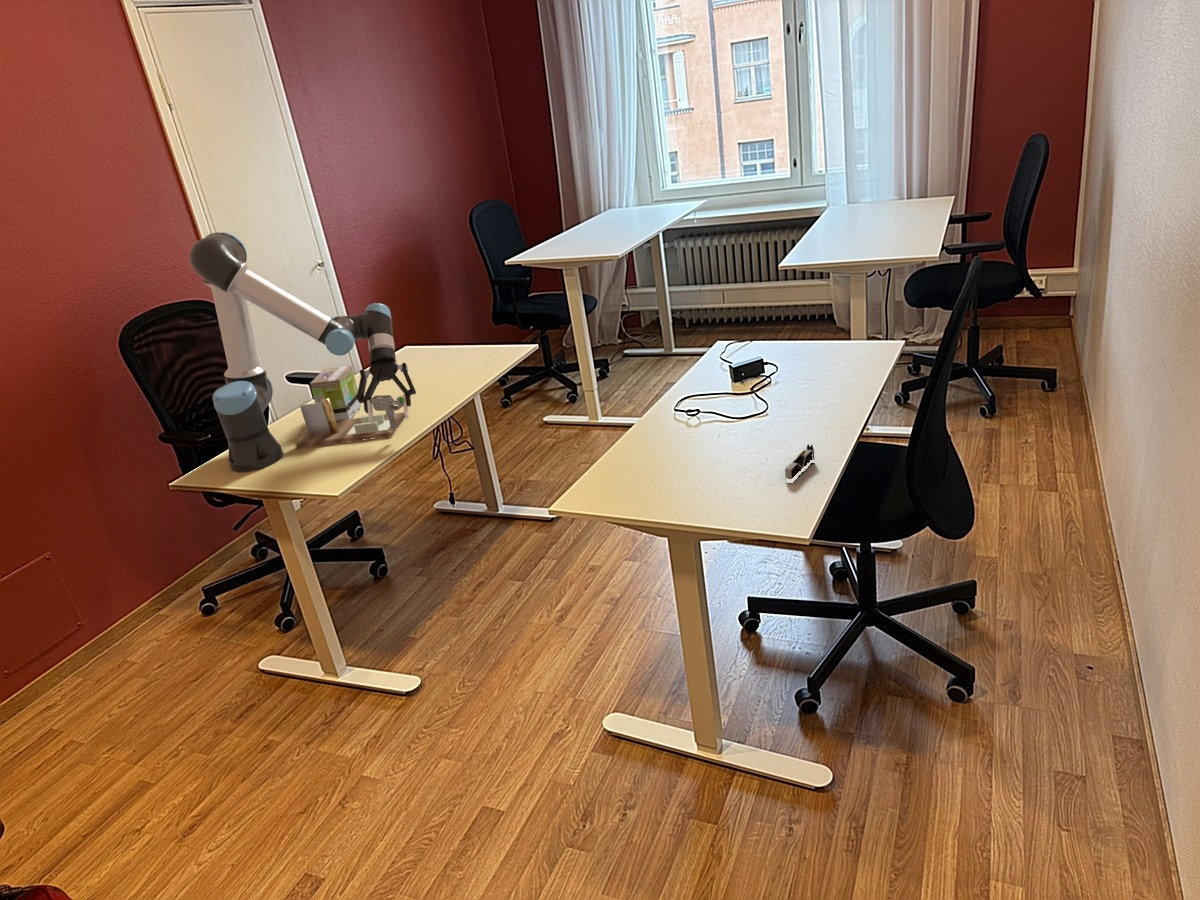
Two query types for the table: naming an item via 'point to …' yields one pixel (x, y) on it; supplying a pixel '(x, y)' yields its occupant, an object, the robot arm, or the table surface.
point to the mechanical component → (387, 406)
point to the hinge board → (341, 426)
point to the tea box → (337, 391)
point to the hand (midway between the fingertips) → (389, 419)
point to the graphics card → (799, 462)
